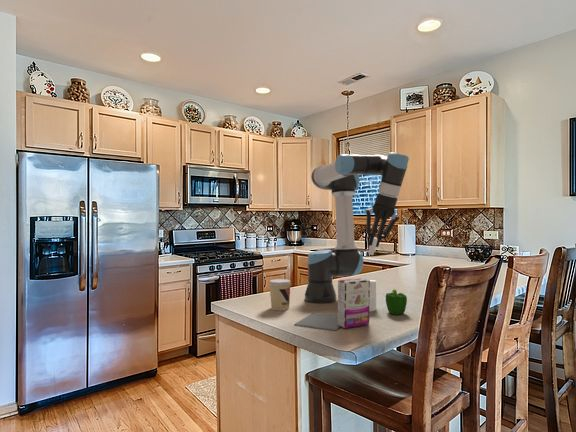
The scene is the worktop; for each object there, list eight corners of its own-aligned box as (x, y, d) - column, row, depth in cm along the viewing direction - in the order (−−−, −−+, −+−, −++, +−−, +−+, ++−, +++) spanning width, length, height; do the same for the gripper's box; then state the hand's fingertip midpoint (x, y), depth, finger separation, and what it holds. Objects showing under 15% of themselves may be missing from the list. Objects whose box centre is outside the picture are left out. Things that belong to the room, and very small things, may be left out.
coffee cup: (283, 312, 148) (283, 283, 148) (265, 309, 153) (265, 281, 153) (294, 307, 156) (294, 279, 156) (277, 304, 161) (277, 278, 161)
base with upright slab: (356, 311, 147) (356, 282, 147) (353, 306, 156) (353, 279, 156) (378, 311, 147) (377, 282, 147) (374, 306, 156) (373, 278, 156)
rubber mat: (294, 325, 130) (294, 324, 130) (312, 313, 145) (312, 312, 145) (335, 331, 122) (335, 329, 122) (350, 318, 137) (350, 317, 137)
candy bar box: (360, 321, 133) (362, 277, 133) (369, 325, 129) (370, 280, 128) (336, 324, 128) (337, 279, 128) (344, 329, 123) (345, 282, 123)
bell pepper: (394, 309, 149) (394, 285, 149) (411, 313, 142) (410, 289, 142) (380, 312, 145) (380, 288, 145) (396, 317, 138) (396, 291, 138)
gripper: (402, 197, 135) (385, 254, 140) (368, 189, 135) (353, 247, 140) (407, 200, 127) (389, 260, 133) (372, 192, 127) (355, 253, 133)
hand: (370, 253), depth 136 cm, fingers closed
